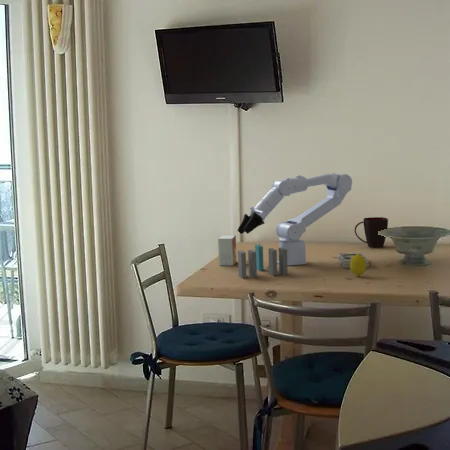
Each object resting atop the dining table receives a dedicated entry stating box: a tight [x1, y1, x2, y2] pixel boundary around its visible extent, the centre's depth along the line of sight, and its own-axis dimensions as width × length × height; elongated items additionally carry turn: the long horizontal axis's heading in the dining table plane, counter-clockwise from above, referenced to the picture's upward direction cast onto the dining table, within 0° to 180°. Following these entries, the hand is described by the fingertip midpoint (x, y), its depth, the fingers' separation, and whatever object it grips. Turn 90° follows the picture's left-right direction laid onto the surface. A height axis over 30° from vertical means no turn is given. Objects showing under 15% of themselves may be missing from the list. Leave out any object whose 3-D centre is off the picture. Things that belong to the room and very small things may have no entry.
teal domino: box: [254, 243, 264, 272], centre depth 252 cm, size 2×5×9 cm, turn 13°
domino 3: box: [267, 247, 278, 277], centre depth 243 cm, size 2×5×9 cm, turn 12°
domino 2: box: [247, 249, 258, 278], centre depth 241 cm, size 2×5×9 cm, turn 13°
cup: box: [354, 216, 389, 249], centre depth 290 cm, size 10×14×12 cm
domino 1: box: [237, 249, 247, 279], centre depth 240 cm, size 2×5×9 cm, turn 13°
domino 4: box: [278, 247, 288, 276], centre depth 244 cm, size 2×5×9 cm, turn 13°
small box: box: [217, 235, 238, 266], centre depth 265 cm, size 8×6×10 cm
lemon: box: [349, 254, 367, 277], centre depth 235 cm, size 6×6×8 cm
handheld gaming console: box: [337, 252, 370, 269], centre depth 256 cm, size 9×4×15 cm
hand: (242, 231), depth 251 cm, fingers open, 7 cm apart
